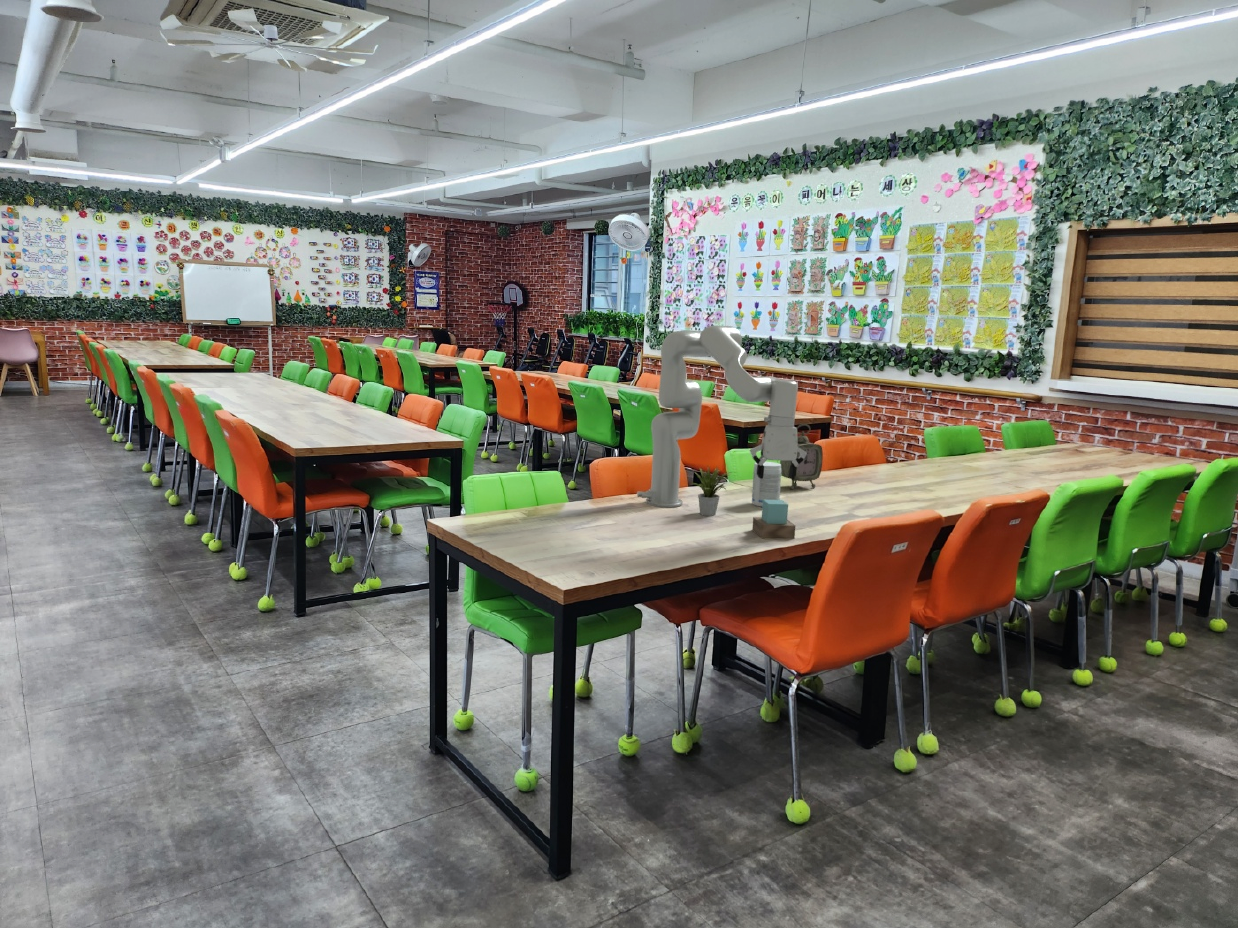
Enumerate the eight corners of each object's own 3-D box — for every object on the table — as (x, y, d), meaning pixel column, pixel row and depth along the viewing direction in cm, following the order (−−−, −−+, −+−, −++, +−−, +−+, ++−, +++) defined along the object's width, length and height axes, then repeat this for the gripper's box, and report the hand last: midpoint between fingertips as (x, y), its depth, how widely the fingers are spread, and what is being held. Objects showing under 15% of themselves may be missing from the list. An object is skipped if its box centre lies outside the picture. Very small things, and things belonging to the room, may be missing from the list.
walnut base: (762, 538, 251) (762, 525, 250) (752, 529, 261) (753, 517, 260) (794, 538, 252) (795, 525, 252) (783, 530, 262) (784, 517, 261)
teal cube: (767, 523, 252) (768, 504, 251) (761, 518, 258) (762, 499, 257) (786, 523, 253) (788, 504, 252) (780, 518, 259) (782, 499, 258)
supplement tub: (784, 505, 297) (787, 464, 294) (768, 509, 290) (771, 467, 288) (762, 500, 303) (765, 460, 301) (745, 503, 297) (748, 462, 294)
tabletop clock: (791, 491, 323) (796, 426, 318) (776, 486, 331) (780, 422, 326) (820, 488, 330) (825, 425, 325) (804, 484, 338) (809, 422, 333)
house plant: (728, 521, 270) (732, 471, 267) (685, 517, 272) (688, 468, 269) (731, 512, 283) (735, 464, 281) (690, 508, 286) (693, 460, 283)
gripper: (756, 422, 246) (751, 480, 249) (813, 424, 248) (807, 481, 251) (749, 418, 253) (744, 474, 256) (805, 421, 255) (799, 476, 259)
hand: (775, 478), depth 254 cm, fingers open, 9 cm apart
